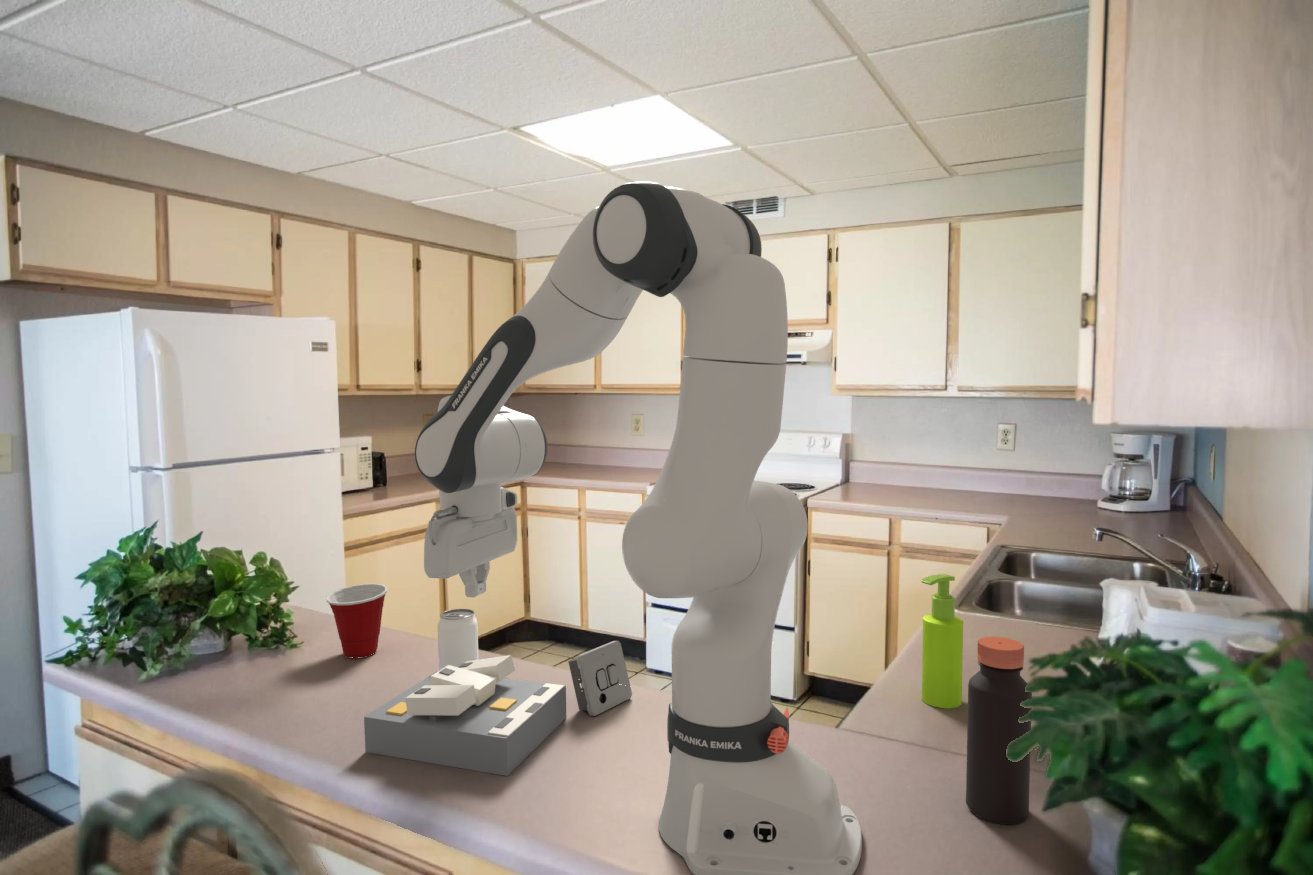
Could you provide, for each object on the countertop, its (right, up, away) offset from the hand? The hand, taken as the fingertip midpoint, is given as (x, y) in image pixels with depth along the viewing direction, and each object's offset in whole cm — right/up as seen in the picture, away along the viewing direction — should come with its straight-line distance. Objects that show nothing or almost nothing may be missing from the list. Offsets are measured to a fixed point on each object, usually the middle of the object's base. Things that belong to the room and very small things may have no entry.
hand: (476, 594), depth 114 cm
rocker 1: (-3, -14, -8) cm, 16 cm away
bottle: (+67, -21, -23) cm, 74 cm away
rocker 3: (+1, -13, +2) cm, 13 cm away
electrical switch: (+18, -19, +7) cm, 27 cm away
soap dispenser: (+71, -18, +7) cm, 74 cm away
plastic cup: (-29, -18, +31) cm, 46 cm away
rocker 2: (-1, -14, -3) cm, 14 cm away
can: (-7, -18, +16) cm, 26 cm away
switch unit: (0, -20, -3) cm, 20 cm away
